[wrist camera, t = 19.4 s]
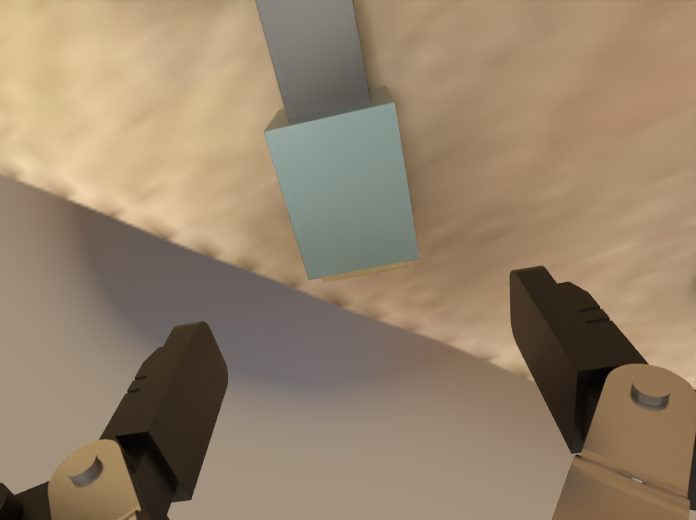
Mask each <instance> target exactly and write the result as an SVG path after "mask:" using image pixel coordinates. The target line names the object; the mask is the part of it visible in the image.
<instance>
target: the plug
mask: <svg viewBox="0 0 696 520" xmlns="http://www.w3.org/2000/svg"><path fill="white" fill-rule="evenodd" d="M255 1H256V5H257V8H258V12H259V16H260V19H261V23H262V27H263V30H264V34H265V38H266V41H267V45H268V49H269V52H270V56H271V60H272V63H273V67H274V71H275V74H276V78H277V81H278V85H279V89H280V92H281V96H282V100H283V103H284V107H285V109H283V110H279V111H278V112H277V114H276V115H275V117H274V118H273V119H272V121H271V122H270V124H269V125H268V126H267V128H266V129H265V131H264V134H265V138H266V141H267V144H268V148H269V151H270V154H271V157H272V161H273V164H274V167H275V171H276V174H277V177H278V181H279V184H280V187H281V190H282V194H283V197H284V200H285V204H286V207H287V210H288V214H289V217H290V220H291V223H292V227H293V230H294V233H295V237H296V240H297V243H298V247H299V250H300V253H301V256H302V260H303V263H304V266H305V270H306V273H307V276H308V280H310V279H315V278H321V277H322V279H323V282H328V281H334V280H339V279H344V278H349V277H355V276H360V275H365V274H370V273H376V272H381V271H386V270H391V269H397V268H402V267H407V266H408V261H409V260H415V259H420V258H419V252H418V246H417V239H416V233H415V227H414V220H413V214H412V208H411V202H410V195H409V189H408V183H407V176H406V170H405V164H404V157H403V151H402V145H401V139H400V132H399V126H398V120H397V113H396V107H395V102H394V100H393V99H392V97H391V95H390V94H389V92H388V90H387V89H386V87H385V86H383V87H378V88H374V89H370V90H368V84H367V79H366V74H365V68H364V63H363V57H362V52H361V46H360V41H359V35H358V30H357V25H356V19H355V14H354V8H353V3H352V0H255Z"/></svg>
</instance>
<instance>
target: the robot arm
mask: <svg viewBox="0 0 696 520" xmlns="http://www.w3.org/2000/svg"><path fill="white" fill-rule="evenodd" d="M510 314H511V326H512V331H513V335H514V338H515V341H516V344H517V346H518V348H519V350H520V352H521V354H522V356H523V358H524V360H525V362H526V364H527V366H528V368H529V370H530V372H531V374H532V376H533V378H534V380H535V382H536V384H537V386H538V388H539V390H540V392H541V394H542V396H543V398H544V400H545V402H546V404H547V406H548V408H549V410H550V412H551V414H552V416H553V418H554V420H555V422H556V424H557V426H558V428H559V430H560V431H561V434H562V436H563V438H564V440H565V442H566V444H567V446H568V448H569V450H570V451H571V454H573V453H581V455H576V456H575V457H574V459H573V461H572V464H571V466H570V469H569V472H568V475H567V478H566V481H565V484H564V486H563V489H562V492H561V495H560V498H559V500H558V503H557V506H556V509H555V512H554V515H553V518H552V520H688V518H689V509H690V510H696V390H694V389H693V387H692V386H691V385H690V384H689V383H688V382H687V381H686V380H684V379H683V378H682V377H680V376H679V375H677V374H675V373H673V372H671V371H669V370H666V369H664V368H661V367H657V366H653V365H649V364H648V363H647V362H646V361H645V359H644V358H643V357H642V356H641V355H640V353H639V352H638V351H637V350H636V349H635V347H634V346H633V345H632V344H631V343H630V342H629V340H628V339H627V338H626V337H625V336H624V334H623V333H622V332H621V331H620V330H619V328H618V327H617V326H616V325H615V324H614V323H613V321H610V318H609V317H608V315H607V314H606V313H605V312H604V311H603V309H600V306H599V305H598V303H597V302H596V301H595V300H594V299H593V298H592V296H591V295H590V294H589V293H588V292H587V291H585V290H583V289H581V288H580V287H578V286H576V285H574V284H572V283H571V282H564V283H558V284H557V283H556V282H555V280H554V279H553V278H552V276H551V275H550V274H549V272H548V271H547V270H546V268H545V267H544V266H536V267H530V268H524V269H518V270H513V271H511V272H510ZM227 384H228V371H227V366H226V363H225V361H224V359H223V356H222V354H221V352H220V350H219V348H218V345H217V343H216V341H215V339H214V336H213V334H212V332H211V330H210V327H209V326H208V324H207V323H206V322H204V321H202V322H196V323H190V324H184V325H178V326H175V327H174V328H173V330H172V331H171V333H170V335H169V337H168V339H167V341H166V342H165V345H164V346H163V347H159V348H158V349H157V350H156V351H155V352H153V353H152V354H151V355H150V356H149V357H148V358H147V359H146V360H145V361H144V362H143V364H142V366H141V368H140V369H139V371H138V373H137V374H136V376H135V381H132V383H131V385H130V387H129V388H128V390H127V391H128V393H127V394H125V395H124V397H123V399H122V401H121V402H120V404H119V406H118V408H117V409H116V411H115V413H114V415H113V416H112V418H111V420H110V422H109V423H108V425H107V427H106V428H105V431H104V432H103V434H102V435H101V437H100V439H99V440H98V441H94V442H91V443H89V444H87V445H85V446H83V447H81V448H79V449H78V450H76V451H75V452H73V453H72V454H71V455H69V456H68V457H67V458H66V459H65V460H64V461H63V462H62V463H61V464H60V465H59V466H58V468H57V469H56V470H55V472H54V473H53V475H52V477H51V479H50V481H48V482H46V483H43V484H41V485H38V486H36V487H34V488H31V489H29V490H26V491H24V492H21V493H19V494H16V495H14V494H13V493H12V492H11V491H10V490H9V489H8V488H7V487H6V486H5V485H4V484H3V483H0V520H170V519H169V517H168V516H167V513H168V510H169V508H170V505H171V502H179V501H187V500H191V499H192V495H193V492H194V489H195V486H196V483H197V480H198V477H199V473H200V470H201V467H202V464H203V461H204V458H205V455H206V451H207V448H208V445H209V442H210V439H211V436H212V433H213V429H214V426H215V423H216V420H217V417H218V414H219V411H220V407H221V404H222V401H223V398H224V395H225V391H226V388H227Z"/></svg>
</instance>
